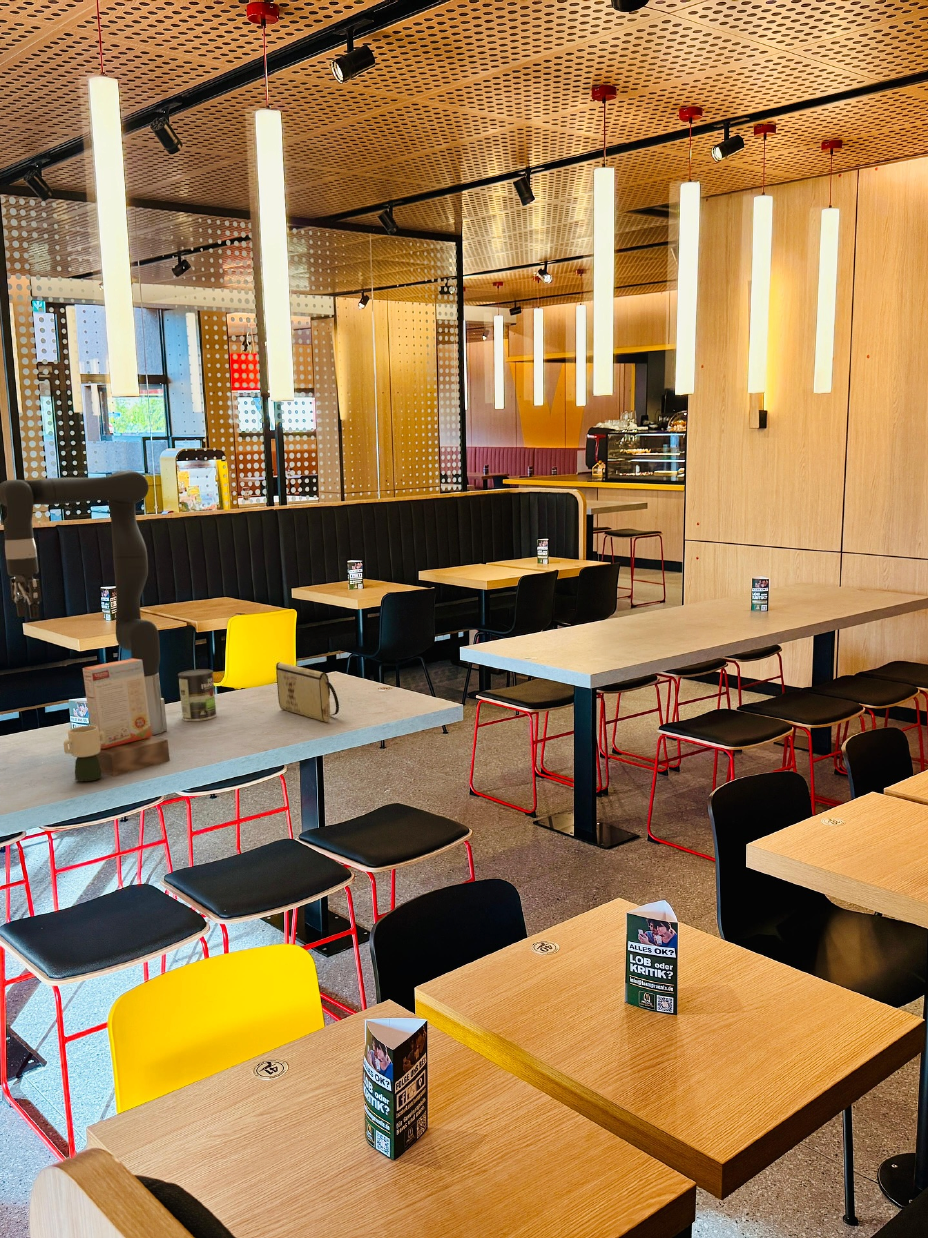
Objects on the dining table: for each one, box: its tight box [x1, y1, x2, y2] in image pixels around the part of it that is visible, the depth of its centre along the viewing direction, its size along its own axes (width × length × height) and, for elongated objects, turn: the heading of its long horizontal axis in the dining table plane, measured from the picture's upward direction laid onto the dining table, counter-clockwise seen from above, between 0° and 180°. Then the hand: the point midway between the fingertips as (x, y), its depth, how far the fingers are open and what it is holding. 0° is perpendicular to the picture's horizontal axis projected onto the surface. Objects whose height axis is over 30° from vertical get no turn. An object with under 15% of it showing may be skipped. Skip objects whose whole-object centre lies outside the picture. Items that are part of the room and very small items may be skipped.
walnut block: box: [96, 735, 171, 777], centre depth 269 cm, size 16×16×6 cm
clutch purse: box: [275, 661, 340, 724], centre depth 311 cm, size 30×7×15 cm, turn 39°
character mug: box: [63, 725, 105, 782], centre depth 255 cm, size 11×7×13 cm, turn 141°
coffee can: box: [177, 668, 218, 722], centre depth 315 cm, size 10×10×14 cm
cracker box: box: [82, 658, 153, 749], centre depth 267 cm, size 14×6×21 cm, turn 135°
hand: (28, 617), depth 274 cm, fingers open, 8 cm apart
